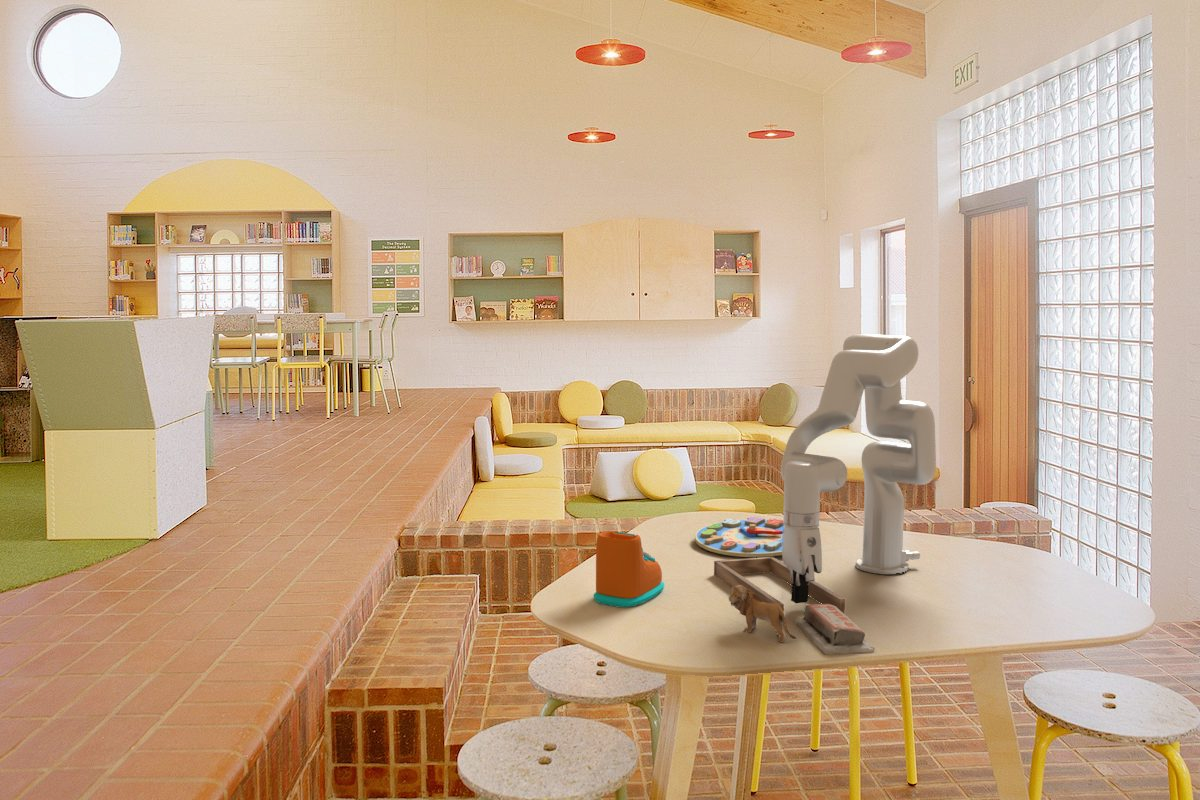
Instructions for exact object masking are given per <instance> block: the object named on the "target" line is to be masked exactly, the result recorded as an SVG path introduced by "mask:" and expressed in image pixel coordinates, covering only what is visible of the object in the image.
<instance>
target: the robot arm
mask: <svg viewBox="0 0 1200 800" xmlns="http://www.w3.org/2000/svg"><path fill="white" fill-rule="evenodd" d="M842 345H843V346H842V350H841V351H839V352H837V353H836V354H835V355H834V357H833V359H832V361H831V363H830V364H831V365H830V367H829V369H828V370H829V371H828V373H827V374H828V375H827V377H826V380H825V384H824V387H823V391H822V394H821V397H820V400H819V403H818V406H817V408H816V410H815V411H813V412H812V413H810V414H809V415H807V417H806V418H805V419H803V420H802V421H801V422H800V423H799V424H798V425H797V427H795V429H794V430H792V432H791V434H790V436H789V437H788V439H787V442H786V445H785V450H784V452H783V455H782V458H781V464H780V474H781V478H782V480H783V517H782V518H783V519H782V520H783V525H784V533H783V546H782V555H781V557H782V558H781V559H782V562H783V563H784V564H785V565H786V566H787V569H788V570H789V571H790V577H791V582H792V586H791V592H790V593H791V596H790V597H791V602H793V603H794V604H803V603H809V596H808V585H809V584H810V581H815V580H816V578H815V574H821V573H822V571H823V554H822V550H823V549H822V537H821V531H820V528H819V527H820V506H821V505H820V504H821V501H820V500H821V499H820V498H821V497H820V494H821V493H827V492H828V493H830V492H835V491H837V490H840V489H841V488H842V487H843V486H844V485H845V483H846V481H847V479H848V469H847V468H848V467H847V466H846V464H845V462H844V461H842V460H841V459H839V458H837V457H833V456H826V455H820V454H819V455H818V454H812V453H811V454H810V453H806V451H807V449H808V447H809V446H810V445H811V444H812V442H814V441H815V440H816V439H817V438H819V437H821V436H822V435H824V434H825V435H826V434H827V433H830V432H832V431H835V430H838V429H840V428H844V427H846V426H849V425H851V424H852V423H854V422H855V420H856V419H857V415H858V410H859V407H860V404H861V400H862V398H863V394H864V405H865V406H864V407H865V421H866V423H865V424H866V429H867V431H868V433H869V434H870V435H872V436H874V437H877V438H881V439H889V440H900V441H908V442H909V443H902V442H896V441H895V442H893V441H883V440H881V441H880V440H879V441H873V442H871V443H868V444H867V445H866V446H865V447H864V448H863V450H862V453H861V468H862V473H863V474H862V475H863V483H864V486H863V487H864V496H863V497H864V501H863V502H864V504H863V505H864V506H863V507H864V508H863V529H862V531H863V532H862V533H863V536H862V557H861V558H858V559H857V560H856V561H855V566H856V568H857V569H859V570H861V571H863V570H864V572H866V571H867V573H872V574H877V573H878V574H879V575H897V574H896V573H900V574H903V573H902V572H904V573H906V572H908V571H909V563H908V562H909V561H910V560H912V561H913V560H914V561H915V560H919V559H920V558H921V554H920V552H919V551H909V550H904V526H905V525H904V519H905V497H904V494H903V492H902V489H901V487H900V486H899V483H901V484H909V485H910V484H911V485H917V486H922V485H923V486H924V485H927V484H928V485H929V483H930V482H932V481H933V479H934V477H935V475H936V467H937V456H936V455H937V450H936V423H935V417H934V416H935V415H934V412H933V410H932V408H931V407H930V406H929V405H928V404H927V403H925V402H922V401H919V400H918V401H915V400H905V399H903V396H902V386H901V384H902V383H901V380H902V379H903V378H905V377H906V376H907V375H908V374H910V372H912V371H913V369H914V368H915V366H916V364H917V362H918V359H919V347H918V344H917V342H916V341H915V339H914V338H912V337H910V336H907V335H899V334H897V335H893V334H890V335H889V334H875V333H874V334H871V333H870V334H869V333H864V334H863V333H861V334H859V333H857V334H854V335H853V334H852V335H850V336H848V337H846V338H845V340H844V341H843V344H842ZM907 570H908V571H907ZM905 571H906V572H905Z"/></svg>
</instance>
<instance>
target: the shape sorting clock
mask: <svg viewBox="0 0 1200 800" xmlns="http://www.w3.org/2000/svg"><path fill="white" fill-rule="evenodd" d="M783 533H784V525H783V519H778V518H772V519H771V518H769V519H765V518H764V517H759V516H748V517H747V519H736V518H726V519H724V520H723V521H719V522H718V521H717V522H715V523H710V524H707V525H705V526H704V525H703V527H701V528H698V530H697V531H695V534H694V541H695V543H696V545H698V546H699V547H700V548H702V549H704V550H706V551H709V552H712V553H715V554H719V555H724V556H730V557H742V558H756V557H757V558H761V557H773V556H774V557H778V556H782V546H783Z"/></svg>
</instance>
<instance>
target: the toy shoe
mask: <svg viewBox="0 0 1200 800" xmlns="http://www.w3.org/2000/svg"><path fill="white" fill-rule="evenodd" d="M595 546H596V548H595V592H594V594H593V599H594V601H596V602H597V603H598V602H599V604H601V603H602V604H601V605H605V604H606V606H610V605H612V606H611V607H616V606H618V607H617V608H630V607H636V606H638V605H640V604H643V603H645V601H646V602H647V600H648V601H649V600H651V599H653V598H655V597H656V596H658V595H659V594H660V593H661V592H662V591H663V590H664V588H665V583H664V582H663V575H662V574H663V572H662V569H661V566H660V563H659V562H658V561H656V559H655V557H654V556H652V555H651V554H650V553H649V552H647V551H644V549H643V545H642V538H641V536H640V535H639V534H635V533H628V532H620V531H617V532H614V531H612V530H607V531H603V532H600V533H599V534H598V535H597V539H596V545H595Z"/></svg>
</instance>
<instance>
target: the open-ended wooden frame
mask: <svg viewBox="0 0 1200 800" xmlns="http://www.w3.org/2000/svg"><path fill="white" fill-rule="evenodd" d="M713 565H714V566H713V576H714V577H716V578H717V579H719V580H720V581H722V582H723V583H724V584H726V585H727V586H729V587H730V588H732V587H734V586H736V585H742V586H745V587H747V588H749V589H750V590H751V591H752V592H754V593H755V594H757V595H758V597H759V598H760V600H761V601H763V602H766V603H772V604H778V605H780V606H781V607H782V609H783V612H784V610H785V609H784V607H785V604H784V603H783V602H781V601H780V600H778V599H777V598H775V597H774V596H772V595H771V594H769V593H768V592H767V591H765V590H763V589H761V588H760V587H759V586H757V585H755V583H754V582H752V581H750V580H748V579H747V578H746V577H744V576H742V575H751V574H764V573H763V572H766V573H771V574H773V575H774V576H775V575H776V577H777V578H779V579H780V578H781V579H780V580H782V579H783V580H784V581H783V580H782V581H783V582H785V581H786V582H785V583H787V582H788V583H789V585H790V584H791V585H792V582H791V577H790V571H789V570H788V569H787V566H786V565H785V564H784V563H783V561H781V560H779V559H778V558H775V556H774V557H761V558H756V557H746V558H736V559H724V560H723V559H722V560H714V561H713ZM788 583H787V584H788ZM791 585H790V586H791ZM808 595H809V596H811V597H812V598H814V599H815V600H817V601H818V602H817V601H816V602H817V603H819V602H820V603H822V604H831V605H833V606H836V607H837V608H838V609H839V610H840V611H841V612H842V613H843V614H844V615H846V613H845V612H846V598H844V597H843V596H841V595H839V594H837V593H836V592H834V591H832V590H831V589H829V588H827V587H825V586H824V585H822V584H820V583H818V582H817V581H815V580H814V581H810V584H809V585H808ZM809 596H808V597H809ZM811 597H810V598H811ZM812 598H811V599H812ZM814 599H813V600H814ZM815 600H814V601H815ZM820 603H819V604H820Z"/></svg>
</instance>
